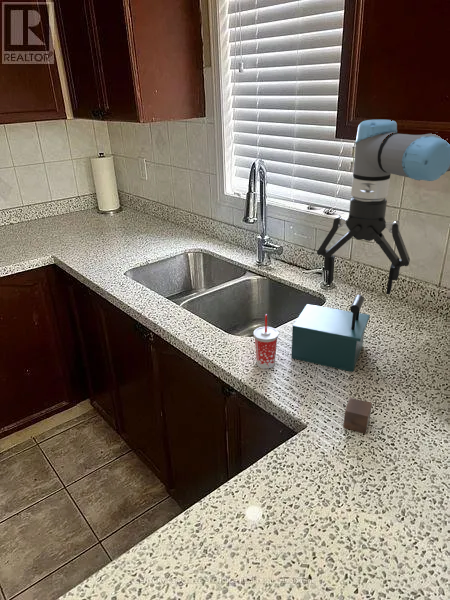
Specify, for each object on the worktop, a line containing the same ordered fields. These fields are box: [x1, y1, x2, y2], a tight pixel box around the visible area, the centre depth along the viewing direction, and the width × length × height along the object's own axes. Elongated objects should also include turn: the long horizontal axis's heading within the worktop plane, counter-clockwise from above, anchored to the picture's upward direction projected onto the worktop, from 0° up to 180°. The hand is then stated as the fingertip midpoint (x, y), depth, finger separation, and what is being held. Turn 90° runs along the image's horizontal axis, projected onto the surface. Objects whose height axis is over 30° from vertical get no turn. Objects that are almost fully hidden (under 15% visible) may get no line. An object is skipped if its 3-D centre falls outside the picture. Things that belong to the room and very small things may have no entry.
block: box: [342, 397, 373, 435], centre depth 91 cm, size 4×4×4 cm
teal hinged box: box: [290, 327, 365, 373], centre depth 114 cm, size 16×13×9 cm
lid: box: [292, 294, 371, 342], centre depth 110 cm, size 16×13×8 cm
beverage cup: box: [253, 313, 279, 370], centre depth 109 cm, size 6×6×14 cm
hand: (358, 287), depth 105 cm, fingers open, 13 cm apart
